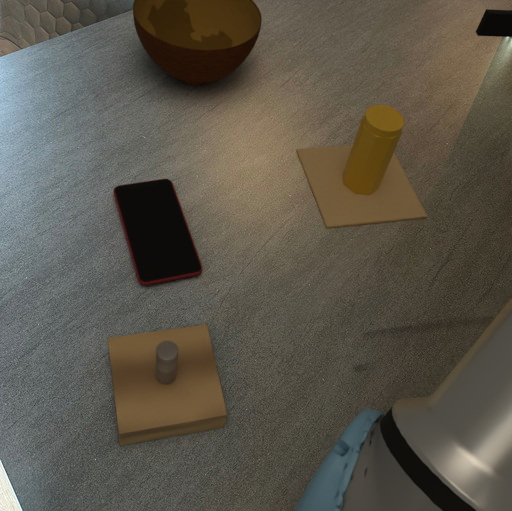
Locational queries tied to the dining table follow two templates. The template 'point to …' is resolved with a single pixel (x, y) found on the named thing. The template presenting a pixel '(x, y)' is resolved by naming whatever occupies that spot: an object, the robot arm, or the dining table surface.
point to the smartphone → (156, 232)
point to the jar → (372, 149)
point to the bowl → (197, 36)
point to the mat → (349, 203)
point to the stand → (165, 384)
